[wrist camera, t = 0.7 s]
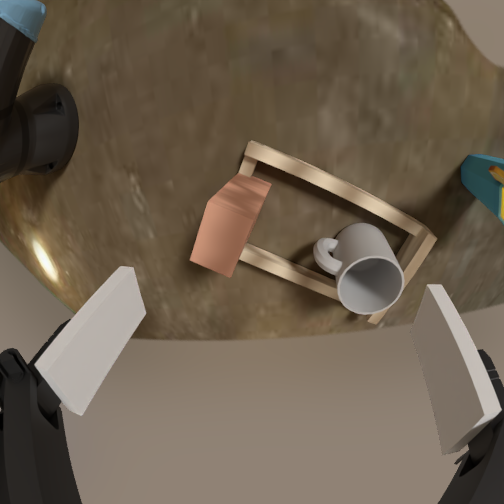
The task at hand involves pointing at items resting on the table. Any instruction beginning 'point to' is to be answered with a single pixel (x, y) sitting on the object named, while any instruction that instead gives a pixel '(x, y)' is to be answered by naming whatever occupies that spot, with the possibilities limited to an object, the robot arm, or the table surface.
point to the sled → (249, 206)
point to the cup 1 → (362, 268)
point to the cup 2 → (485, 181)
